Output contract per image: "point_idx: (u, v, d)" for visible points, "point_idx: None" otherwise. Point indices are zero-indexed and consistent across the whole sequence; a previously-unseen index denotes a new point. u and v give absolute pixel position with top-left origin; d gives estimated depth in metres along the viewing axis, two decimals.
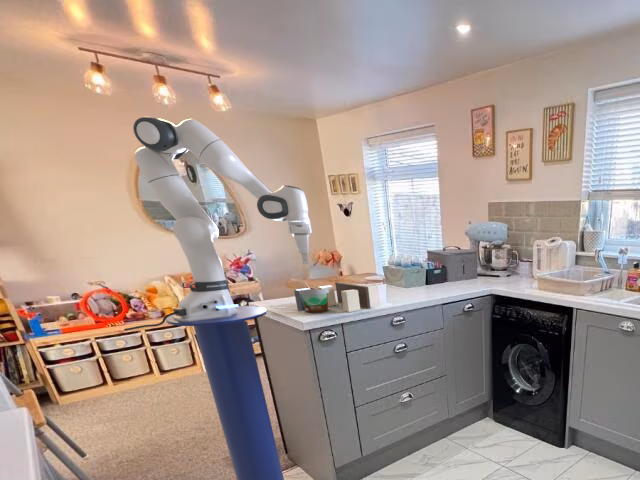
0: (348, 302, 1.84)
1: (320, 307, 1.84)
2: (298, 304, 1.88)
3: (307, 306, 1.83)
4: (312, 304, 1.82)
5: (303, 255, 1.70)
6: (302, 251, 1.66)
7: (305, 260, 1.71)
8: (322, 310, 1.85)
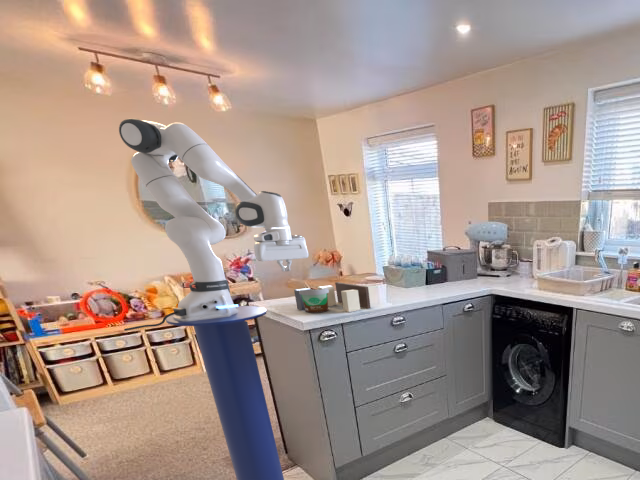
0: (348, 302, 1.84)
1: (320, 307, 1.84)
2: (298, 304, 1.88)
3: (307, 306, 1.83)
4: (312, 304, 1.82)
5: (278, 262, 1.67)
6: (257, 259, 1.61)
7: (282, 267, 1.69)
8: (322, 310, 1.85)
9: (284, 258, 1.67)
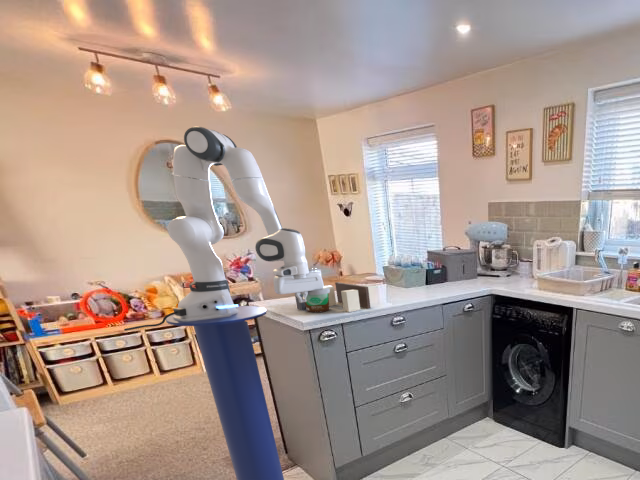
0: (348, 302, 1.84)
1: (321, 307, 1.85)
2: (298, 304, 1.88)
3: (308, 306, 1.83)
4: (313, 304, 1.82)
5: (295, 294, 1.76)
6: (276, 292, 1.70)
7: (299, 299, 1.77)
8: (323, 310, 1.85)
9: (301, 290, 1.76)
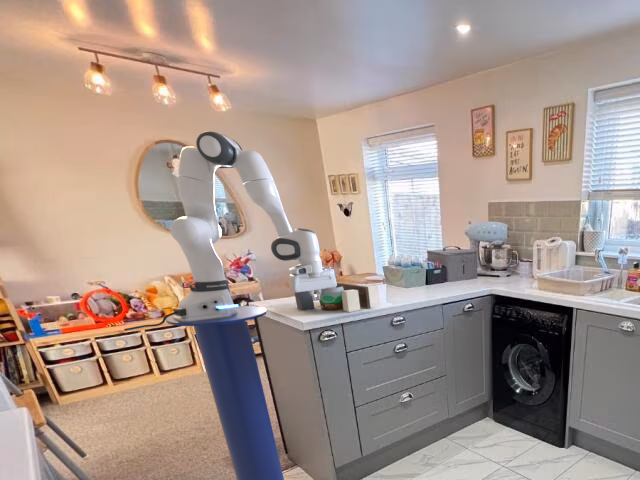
0: (348, 302, 1.84)
1: (334, 305, 1.89)
2: (298, 304, 1.88)
3: (322, 304, 1.88)
4: (326, 302, 1.87)
5: (309, 292, 1.81)
6: (291, 290, 1.75)
7: (313, 297, 1.82)
8: (336, 308, 1.89)
9: (315, 289, 1.81)
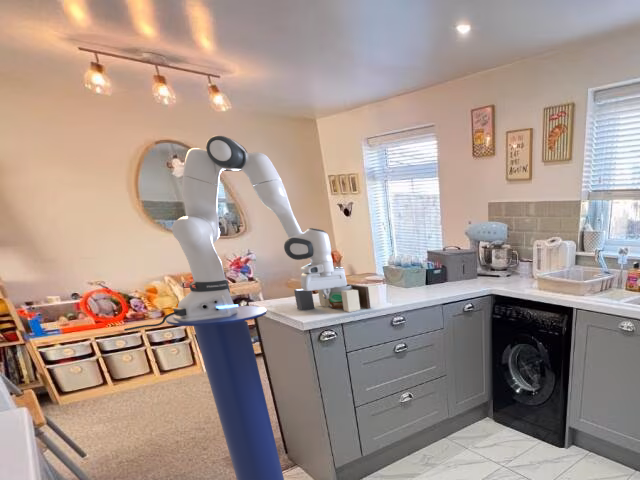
0: (348, 302, 1.84)
1: None
2: (298, 304, 1.88)
3: (331, 302, 1.91)
4: (335, 300, 1.90)
5: (322, 291, 1.85)
6: (303, 289, 1.78)
7: (325, 295, 1.86)
8: None
9: (326, 287, 1.84)
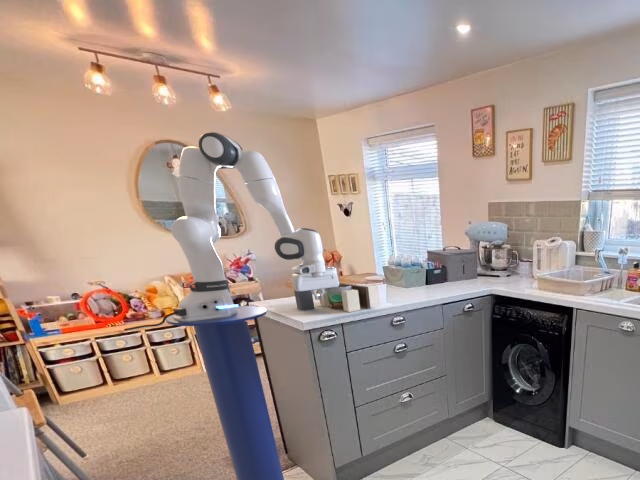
0: (348, 302, 1.84)
1: None
2: (298, 304, 1.88)
3: (331, 302, 1.91)
4: (335, 301, 1.90)
5: (312, 291, 1.82)
6: (294, 289, 1.76)
7: (315, 296, 1.83)
8: None
9: (318, 288, 1.82)
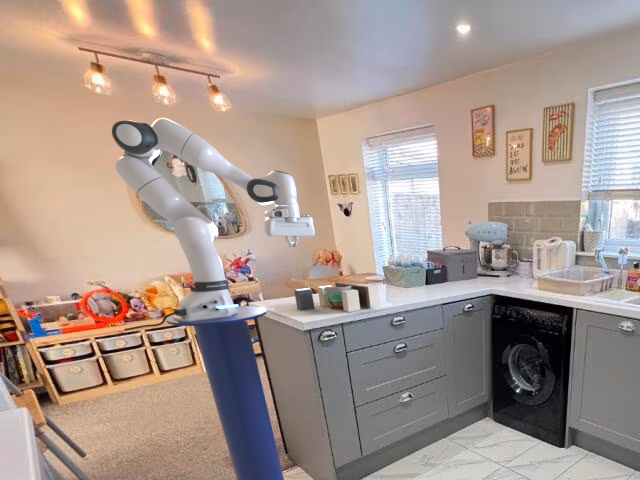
0: (348, 302, 1.84)
1: None
2: (298, 304, 1.88)
3: (331, 302, 1.91)
4: (335, 301, 1.90)
5: (286, 238, 1.79)
6: (267, 234, 1.72)
7: (289, 243, 1.80)
8: None
9: (292, 234, 1.78)
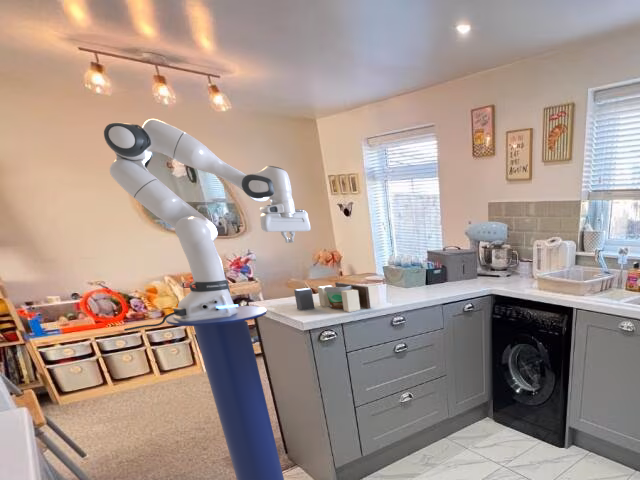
0: (348, 302, 1.84)
1: None
2: (298, 304, 1.88)
3: (331, 302, 1.91)
4: (335, 301, 1.90)
5: (282, 234, 1.79)
6: (263, 229, 1.73)
7: (285, 239, 1.81)
8: None
9: (288, 230, 1.79)
